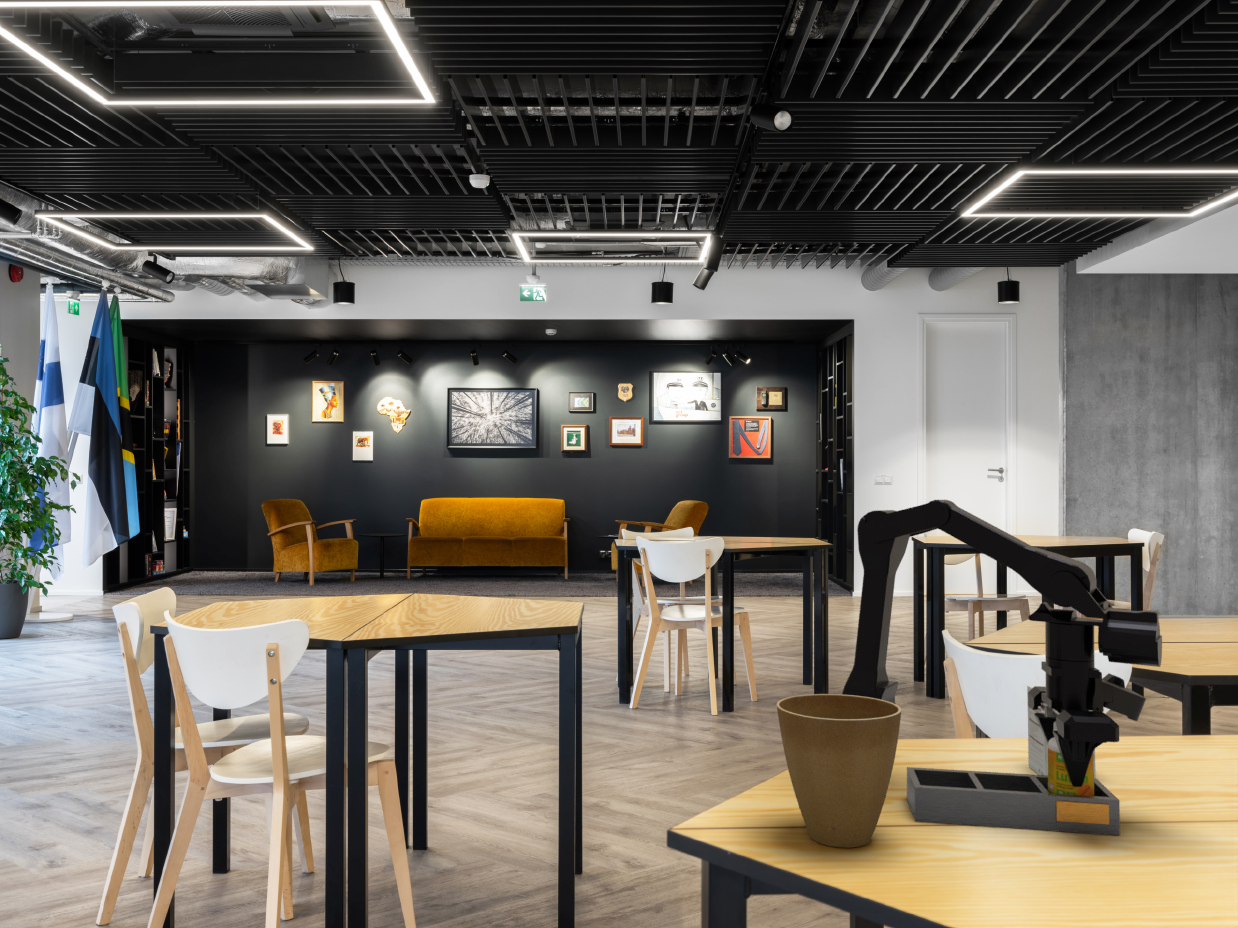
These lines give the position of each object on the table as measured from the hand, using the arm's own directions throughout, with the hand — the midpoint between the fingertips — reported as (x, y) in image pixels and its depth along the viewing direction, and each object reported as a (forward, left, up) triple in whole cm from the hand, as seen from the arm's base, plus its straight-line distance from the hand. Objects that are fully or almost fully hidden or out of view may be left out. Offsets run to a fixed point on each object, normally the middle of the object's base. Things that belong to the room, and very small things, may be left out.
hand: (1070, 779), depth 119 cm
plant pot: (-30, -12, -5) cm, 33 cm away
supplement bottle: (0, 0, -3) cm, 3 cm away
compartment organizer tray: (-8, 0, -5) cm, 9 cm away
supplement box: (+4, +21, -5) cm, 22 cm away
